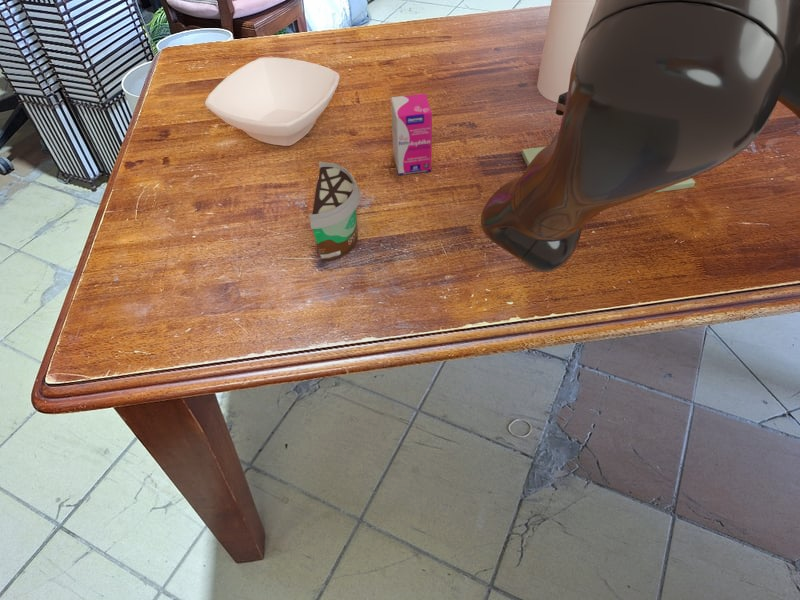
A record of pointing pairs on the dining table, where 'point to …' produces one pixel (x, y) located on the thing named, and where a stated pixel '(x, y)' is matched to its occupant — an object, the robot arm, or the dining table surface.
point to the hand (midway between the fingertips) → (626, 84)
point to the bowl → (274, 98)
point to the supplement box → (411, 133)
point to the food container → (335, 212)
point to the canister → (562, 45)
